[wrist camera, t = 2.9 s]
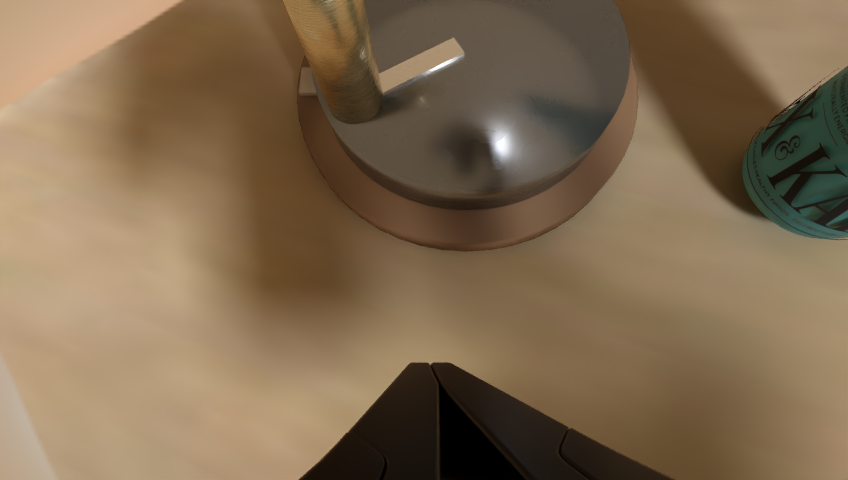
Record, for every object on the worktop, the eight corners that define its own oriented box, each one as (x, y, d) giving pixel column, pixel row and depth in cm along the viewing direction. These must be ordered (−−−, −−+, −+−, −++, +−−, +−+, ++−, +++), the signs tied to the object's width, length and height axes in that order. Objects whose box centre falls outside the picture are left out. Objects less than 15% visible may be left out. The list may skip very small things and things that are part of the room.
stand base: (607, -28, 27) (618, -55, 25) (647, 251, 21) (665, 241, 20) (319, -22, 28) (311, -48, 26) (289, 250, 22) (277, 240, 21)
